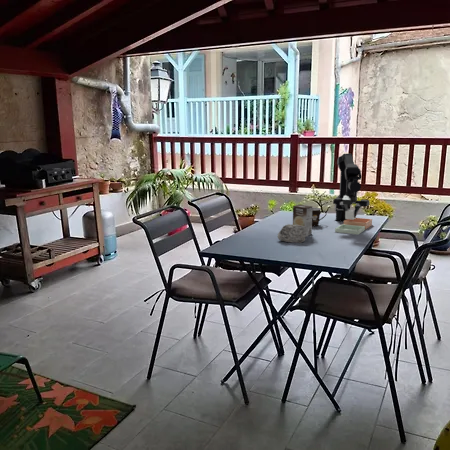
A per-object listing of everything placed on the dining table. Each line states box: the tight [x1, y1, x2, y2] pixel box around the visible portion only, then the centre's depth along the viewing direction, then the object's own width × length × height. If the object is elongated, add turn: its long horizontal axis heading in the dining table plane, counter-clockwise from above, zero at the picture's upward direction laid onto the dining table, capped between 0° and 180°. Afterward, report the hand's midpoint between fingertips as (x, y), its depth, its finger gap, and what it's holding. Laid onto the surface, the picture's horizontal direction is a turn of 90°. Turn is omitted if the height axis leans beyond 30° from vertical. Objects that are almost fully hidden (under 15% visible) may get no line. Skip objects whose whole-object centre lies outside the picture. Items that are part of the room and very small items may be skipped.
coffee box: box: [292, 204, 313, 238], centre depth 253 cm, size 9×6×16 cm
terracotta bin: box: [343, 217, 373, 230], centre depth 269 cm, size 13×12×4 cm
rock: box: [277, 223, 308, 244], centre depth 241 cm, size 16×8×10 cm, turn 61°
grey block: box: [345, 209, 357, 220], centre depth 256 cm, size 4×4×4 cm
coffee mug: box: [312, 207, 327, 228], centre depth 274 cm, size 12×9×10 cm
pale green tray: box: [334, 223, 366, 235], centre depth 258 cm, size 13×12×2 cm
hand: (350, 217), depth 256 cm, fingers closed on grey block, 4 cm apart
